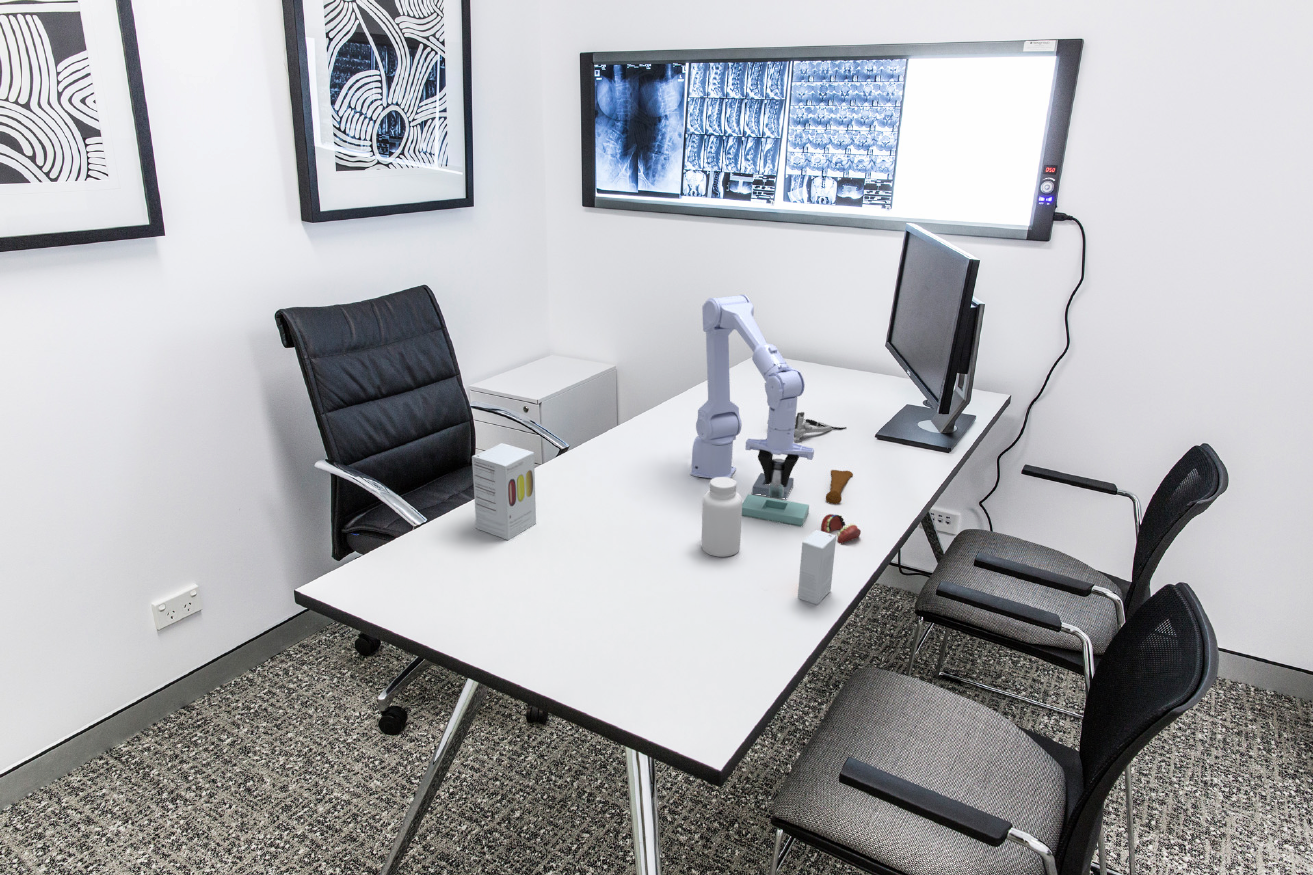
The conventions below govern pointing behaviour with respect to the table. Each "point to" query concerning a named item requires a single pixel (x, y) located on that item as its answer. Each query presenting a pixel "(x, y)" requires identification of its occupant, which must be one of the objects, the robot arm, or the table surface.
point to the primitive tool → (837, 485)
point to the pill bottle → (721, 518)
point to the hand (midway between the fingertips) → (776, 483)
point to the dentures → (836, 523)
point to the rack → (775, 510)
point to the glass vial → (777, 478)
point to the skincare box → (816, 566)
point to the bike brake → (806, 428)
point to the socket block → (763, 489)
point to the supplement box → (504, 490)
